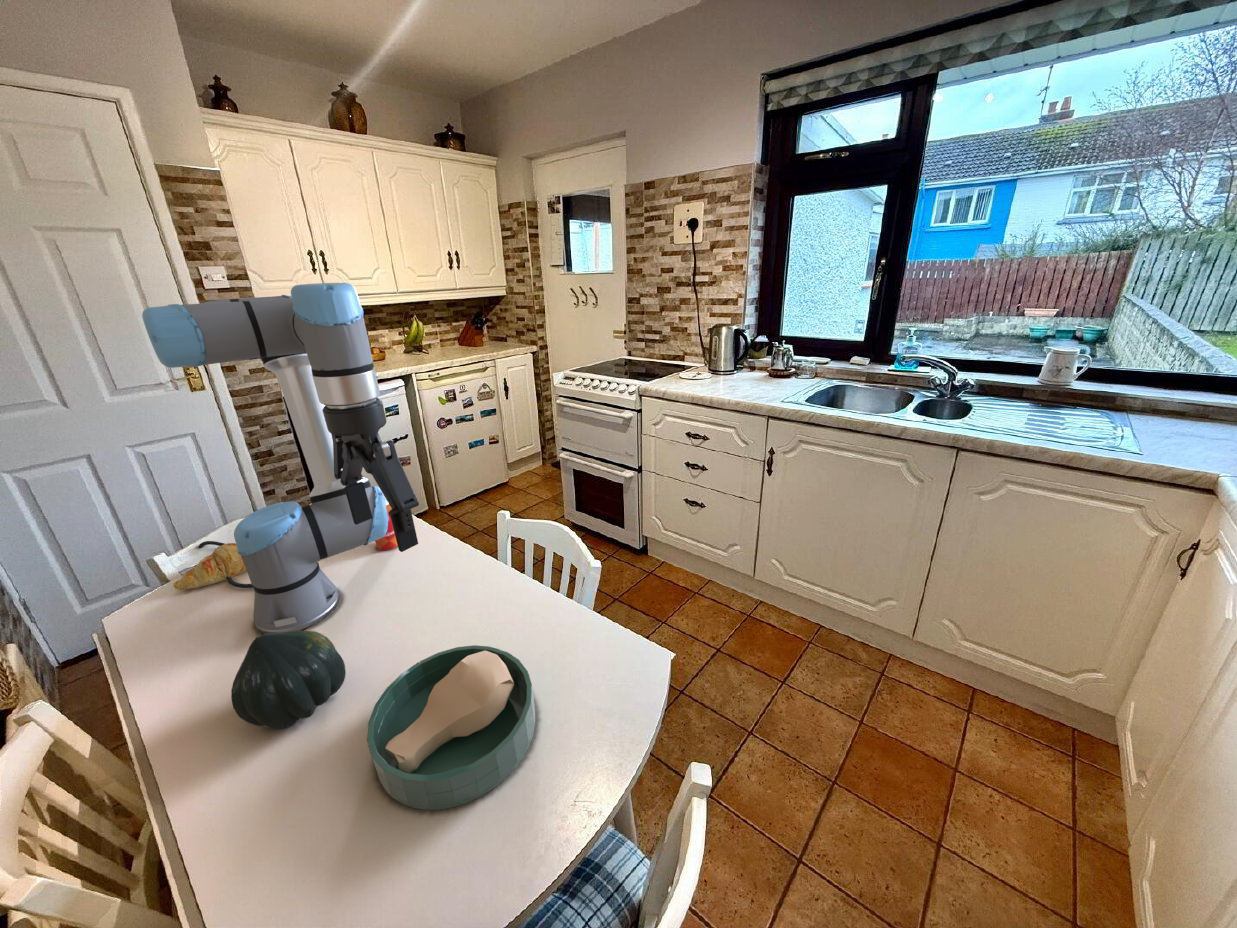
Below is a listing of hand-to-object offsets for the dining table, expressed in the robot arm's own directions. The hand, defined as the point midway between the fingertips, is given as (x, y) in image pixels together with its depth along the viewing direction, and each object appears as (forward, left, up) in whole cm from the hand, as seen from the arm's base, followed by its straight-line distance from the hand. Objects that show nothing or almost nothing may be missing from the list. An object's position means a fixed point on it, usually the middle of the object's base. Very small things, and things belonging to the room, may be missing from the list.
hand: (385, 533), depth 76 cm
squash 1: (-10, -16, -29) cm, 35 cm away
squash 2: (+16, -3, -28) cm, 32 cm away
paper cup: (-45, +19, -29) cm, 57 cm away
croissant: (-66, -10, -29) cm, 73 cm away
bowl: (+16, -3, -29) cm, 33 cm away
